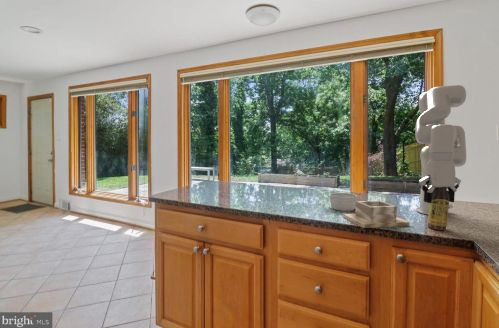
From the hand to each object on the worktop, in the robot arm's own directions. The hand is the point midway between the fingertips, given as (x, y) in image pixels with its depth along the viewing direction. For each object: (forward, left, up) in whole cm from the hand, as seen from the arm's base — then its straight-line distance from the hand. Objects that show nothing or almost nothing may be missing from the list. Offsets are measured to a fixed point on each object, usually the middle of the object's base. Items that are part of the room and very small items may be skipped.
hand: (438, 202), depth 109 cm
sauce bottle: (0, 0, -11) cm, 11 cm away
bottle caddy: (+18, -13, -10) cm, 25 cm away
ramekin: (+20, -37, -11) cm, 43 cm away
